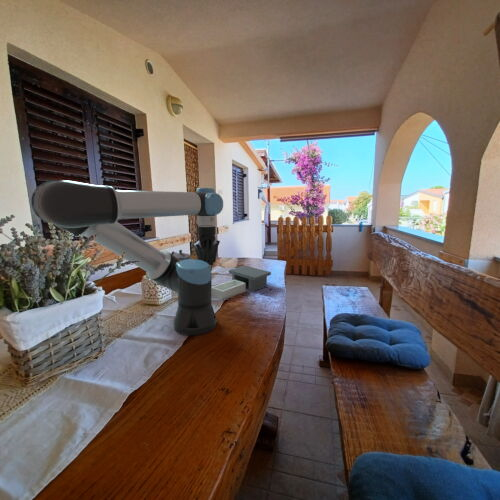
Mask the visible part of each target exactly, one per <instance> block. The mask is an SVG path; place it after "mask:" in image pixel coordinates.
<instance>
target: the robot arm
mask: <svg viewBox="0 0 500 500" xmlns="http://www.w3.org/2000/svg"><path fill="white" fill-rule="evenodd" d="M30 196H31V197H30V206H31V208H32V211H33V212H34V214H35V215H36V217H38V218H39V220H42V221H43V222H45V223H47V224H49V223H48V220H49V221H50V222H51V223H53V224H54V225H53V224H52V225H53V226H55V227H57V228H58V229H60V230H62V231H64V230H67V231H69V232H71V233H73V234H74V236H73V237H75V238H78V237H86V238H87V239H89V237H90V236H91V235H93V236H95V234H101V235H98V237H97V238H96V239H94V240H92V241H93V242H94V243H96V244H98V245H100V246H102V247H103V248H105V249H107V250H109V251H110V252H112V253H113V254H116V255H117V256H119V257H121V256H122V254H123V252H125V256H124V258H123V259H124V260H126V261H128V262H129V261H139V262H138V263H132V264H133V265H135V266H137V267H138V268H140V269H142V270H143V271H145V272H146V277H147V278H149V279H150V280H152V281H154V282H155V283H156V284H157V285H160V286H161V287H164V288H166V289H169V290H170V291H173V292H175V293H177V301H178V302H177V305H178V306H177V309H176V312H175V316H174V319H173V328H175V329H174V331H176V332H177V331H178V332H180V333H183V334H182V335H184V334H187V335H186V336H200V335H204V334H207V333H209V332H211V331H212V330H214V329H215V328H216V327H217V326H216V325H217V316H216V313H215V311H214V307H213V304H212V296H211V287H212V278H213V277H212V276H213V275H212V271H213V267H212V266H213V265H214V263H216V261H217V254H218V249H219V244H220V243H221V242H220V240H217V238H216V236H215V235H216V234H217V233H216V232H217V230H216V229H217V227H216V222H217V221H216V216H217V215H219V214H221V212H222V211H223V209H224V200H223V199H224V198H223V197H222V196H221V195H220V194H219V193H217V192H216V190H215V189H214V188H212V187H197V188H196V191H195V192H194V191H193V192H191V191H165V190H164V191H163V190H162V191H159V190H158V191H157V190H128V189H127V190H122V189H115V188H114V187H113V186H111V185H102V184H101V185H98V184H92V183H91V184H90V183H84V182H79V181H73V180H50V181H45V182H43V183H41V184H40V185H38V186H37V187H36V188H35V189H34V190H33V192H32V194H31V195H30ZM179 216H180V217H181V216H182V217H184V216H196V217H197V222H196V223H197V235H198V238H197V241H196V243H193V244H192V246H193V247H194V249H195V254H196V259H195V258H190V259H186V260H180V259H178V258H177V257H175V256H174V255H172V254H171V253H172V252H170V251H167V250H163V251H161V250H160V249H158V248H156V247H155V246H153V245H152V244H151V243H149V242H147V241H146V240H145V239H143V238H141V237H140V236H139V235H137V234H135V233H134V232H133V231H131V230H130V229H128V228H127V227H125V226H124V225H122V224H121V223H119V220H128V219H146V218H163V217H165V218H166V217H179ZM51 223H50V224H51ZM79 234H80V235H79ZM121 258H122V257H121ZM178 332H177V333H178ZM180 333H179V334H180Z"/></svg>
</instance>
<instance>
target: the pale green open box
mask: <svg viewBox="0 0 500 500" xmlns="http://www.w3.org/2000/svg"><path fill="white" fill-rule="evenodd" d="M246 284H247V282H245V283H244V282H241V281H237V280H232V279H231V280H228V281H225V282H223V283H220V284H216V285H212V286H211V297H212V296H213V297H212V298H215V297H216V298H215V299H217V298H219V299H218V300H220V299H221V300H220V301H222V300H223V301H225V300H227V298H228V299H231V298H232V297H235V296H237V295H241V294H243V293H244V292H247V291H246V287H247V285H246ZM224 299H225V300H224Z"/></svg>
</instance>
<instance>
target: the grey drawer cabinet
mask: <svg viewBox="0 0 500 500" xmlns="http://www.w3.org/2000/svg"><path fill="white" fill-rule="evenodd" d="M228 273H229V274H231V276H232V279H231V280H237V281H241V282H244V283H248V292H250V293H252V292H254V291H257V290H259V289H262V288H264V287H266V286H267V283H268V281H267V280H268V277H269V276H271V275H272V271H267V270H263V269H260V268H256V267H252V266H249V265H242V266H238V267H234V268H232V269H229V270H228Z"/></svg>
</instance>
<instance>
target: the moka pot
mask: <svg viewBox="0 0 500 500" xmlns="http://www.w3.org/2000/svg"><path fill="white" fill-rule="evenodd" d="M170 253H171V254H172V255H174V256H175V257H177V258H178V259H180V260H186V259H191V255H190V254H189V253H185V252H183V249H180V250H178V252H177V251H176V252H175V251H172V252H170Z"/></svg>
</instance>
